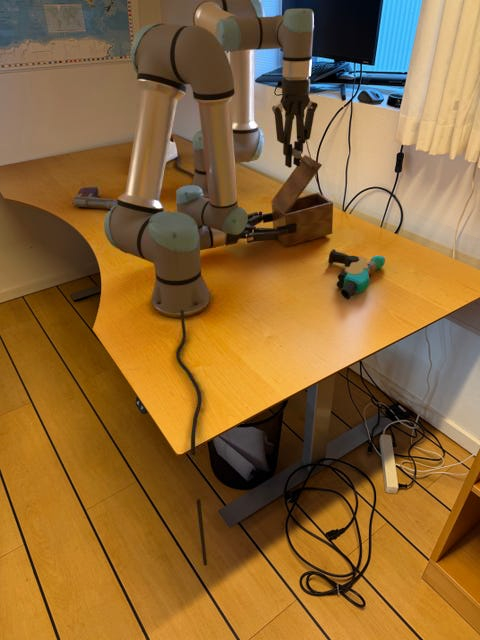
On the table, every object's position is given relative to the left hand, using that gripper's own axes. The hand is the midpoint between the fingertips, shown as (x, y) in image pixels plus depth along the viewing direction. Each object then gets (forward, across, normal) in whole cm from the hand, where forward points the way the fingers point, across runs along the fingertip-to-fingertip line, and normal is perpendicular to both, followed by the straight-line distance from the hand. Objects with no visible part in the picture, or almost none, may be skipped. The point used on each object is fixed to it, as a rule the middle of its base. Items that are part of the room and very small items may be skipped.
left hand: (288, 221), depth 151 cm
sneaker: (-20, -91, -6) cm, 94 cm away
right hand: (0, 0, +18) cm, 18 cm away
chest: (+5, 0, -5) cm, 8 cm away
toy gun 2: (+4, +30, -6) cm, 30 cm away
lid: (+2, 0, +12) cm, 12 cm away
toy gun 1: (-52, -55, -6) cm, 76 cm away
